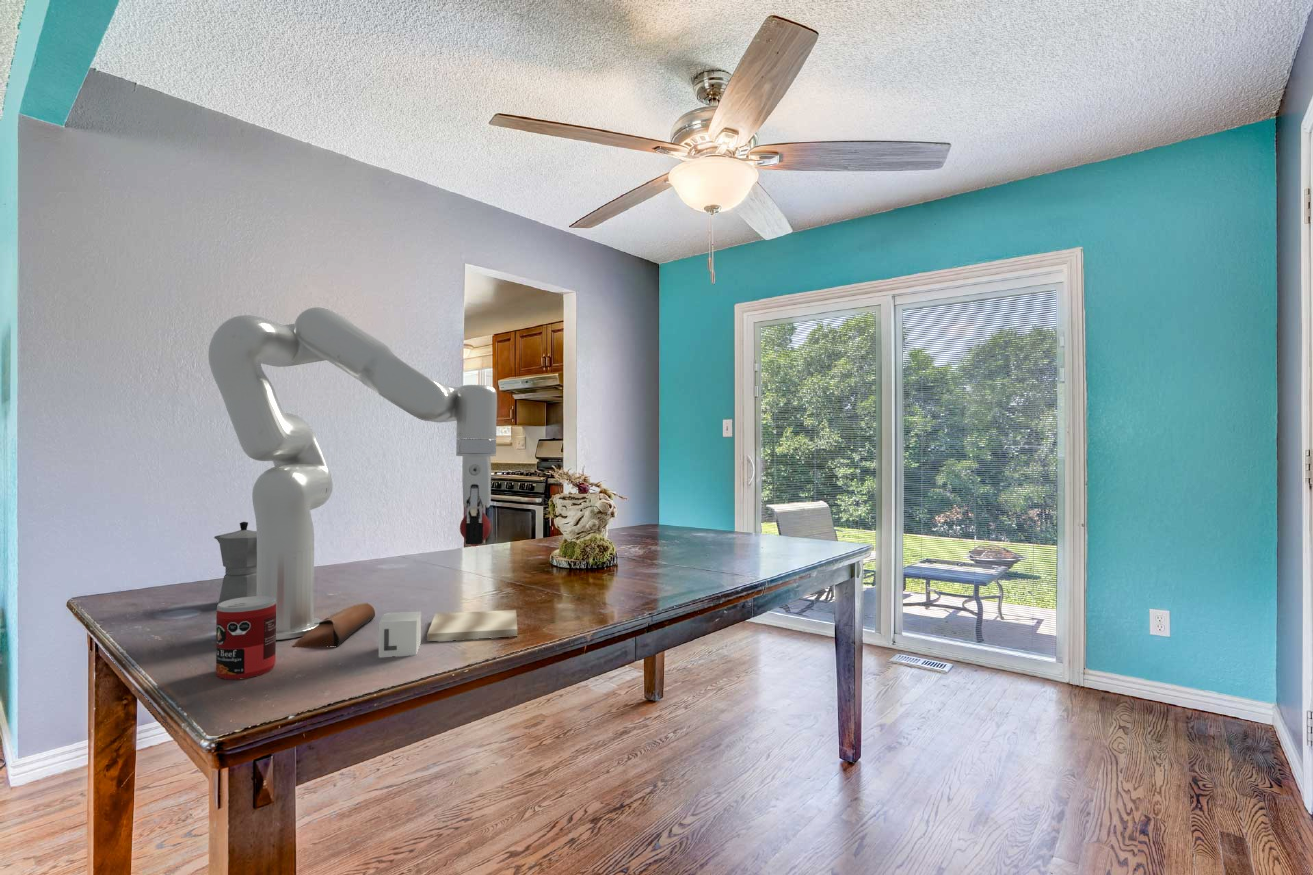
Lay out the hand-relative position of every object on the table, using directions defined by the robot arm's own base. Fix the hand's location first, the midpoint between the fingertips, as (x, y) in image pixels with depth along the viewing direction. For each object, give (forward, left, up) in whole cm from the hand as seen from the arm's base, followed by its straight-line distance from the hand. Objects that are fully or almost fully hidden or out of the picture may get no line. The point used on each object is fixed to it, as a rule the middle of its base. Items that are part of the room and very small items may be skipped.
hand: (475, 540), depth 127 cm
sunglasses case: (-25, +2, -18) cm, 31 cm away
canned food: (-34, -17, -17) cm, 42 cm away
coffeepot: (-50, +30, -17) cm, 61 cm away
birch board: (0, 0, -17) cm, 17 cm away
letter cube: (-12, -11, -17) cm, 24 cm away
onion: (0, 0, -1) cm, 1 cm away
